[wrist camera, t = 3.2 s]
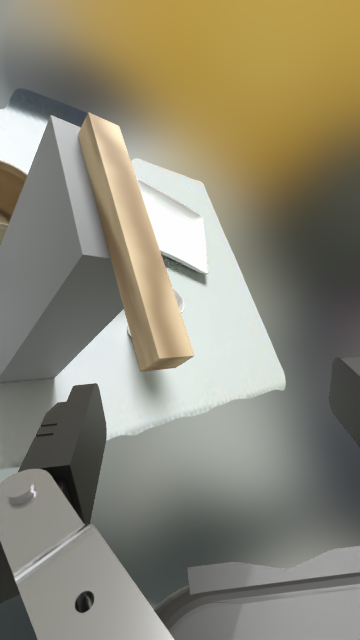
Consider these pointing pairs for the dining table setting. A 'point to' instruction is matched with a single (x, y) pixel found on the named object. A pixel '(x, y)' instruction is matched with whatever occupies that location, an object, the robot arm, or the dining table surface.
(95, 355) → the dining table surface
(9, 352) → the stand
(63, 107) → the dining table surface
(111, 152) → the block
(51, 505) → the robot arm
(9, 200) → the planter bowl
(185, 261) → the square plate
